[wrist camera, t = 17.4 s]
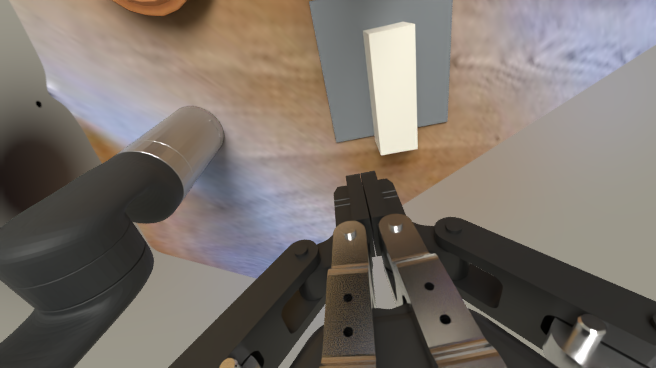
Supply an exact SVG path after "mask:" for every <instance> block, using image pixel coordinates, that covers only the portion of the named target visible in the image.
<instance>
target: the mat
mask: <svg viewBox="0 0 656 368" xmlns="http://www.w3.org/2000/svg"><path fill="white" fill-rule="evenodd" d="M452 3H453V0H314V1H310V2H309V4H310V10H311V15H312V20H313V25H314V30H315V35H316V40H317V45H318V50H319V56H320V61H321V66H322V71H323V76H324V81H325V86H326V91H327V96H328V101H329V107H330V112H331V117H332V122H333V127H334V132H335V137H336V142H342V141H347V140H353V139H358V138H363V137H368V136H374V127H373V118H372V109H371V100H370V91H369V82H368V73H367V64H366V55H365V47H364V38H363V31H364V30H368V29H373V28H377V27H382V26H386V25H390V24H395V23H399V22H408V23H413V24H415V42H416V93H417V127H421V126H426V125H432V124H437V123H442V122H447V118H448V95H449V72H450V49H451V26H452Z"/></svg>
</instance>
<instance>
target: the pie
mask: <svg viewBox="0 0 656 368" xmlns="http://www.w3.org/2000/svg"><path fill="white" fill-rule="evenodd" d="M112 1H114V2H115V3H117V4H119V5H121V6H122V7H124V8H126V9H127V10H129V11H133V12H136V13H140V14H144V15H152V16H165V15H167V14H170V13H172V12H174V11H177V10H179V9H180V7H181V6H182V5H183V4H184V3H185V2H186V1H187V0H112Z"/></svg>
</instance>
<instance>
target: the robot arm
mask: <svg viewBox="0 0 656 368" xmlns="http://www.w3.org/2000/svg"><path fill="white" fill-rule="evenodd" d="M223 139H224V133H223V129H222V126H221V125H220V123H219V121H218V120H217V119H216V118H215V117H214V116H213V115H212V114H211V113H209V112H208V111H206V110H204V109H202V108H199V107H194V106H187V107H183V108H180V109H178V110H177V111H175V112H174V113H173V114H171V115H170V116H169V117H167V118H166V119H164V120H163V121H162V122H160V123H159V124H157V125H156V126H155V127H153V128H152V129H151V130H149V131H148V132H146V133H145V134H144V135H142V136H141V137H140V138H138V139H137V140H135V141H134V142H133V143H131V144H130V145H129V146H127V147H126V148H125V149H123V150H122V151H120V152H119V153H118V154H116V155H115V156H113V157H112V158H111V159H109V160H108V161H106V162H104V163H103V164H101V165H99V166H97V167H95V168H93V169H91V170H89V171H88V172H86V173H85V174H83V175H81V176H79V177H78V178H76V179H75V180H73V181H72V182H70V183H69V184H68V185H66V186H65V187H63V188H61V189H60V190H58V191H56V192H55V193H53V194H52V195H50V196H49V197H47V198H45V199H43V200H42V201H40V202H38V203H37V204H35V205H33V206H32V207H30V208H29V209H27V210H25V211H24V212H22V213H20V214H19V215H17V216H16V217H14V218H13V219H11V220H10V221H8V222H7V223H6V224H5V225H3V226H2V227H1V228H0V280H1V281H2V282H3V283H5V284H6V285H7V286H8V287H9V288H10V289H12V290H13V291H14V292H15V293H17V294H18V295H19V296H20V297H21V298H23V299H24V300H25V301H26V302H28V303H29V304H30V305H31V306H32V307H34V308H35V309H34V311H33V312H32V314H31V315H30V316H29V317H28V318H27V319H26V320H25V321H24V322H23V323H22V324H21V325H20V326H19V327H18V328H17V329H16V330H15V331H14V332H13V333H12V334H10V335H9V336H8V337H7V338H6V339H5V340H4V341H3V342H1V343H0V368H74V367H75V365H76V364H77V363H78V362H79V361H80V360H81V359H82V358H83V356H84V355H85V354H86V353H87V352H88V351H89V350H90V349H91V348H92V346H93V345H94V344H95V343H96V342H97V341H98V340H99V338H100V337H101V336H102V335H103V334H104V333H105V332H106V331H107V330H108V328H109V327H110V326H111V325H112V324H113V323H114V322H115V321H116V319H117V318H118V317H119V316H120V315H121V314H122V313H123V311H124V310H125V309H126V308H127V307H128V305H129V304H130V303H131V302H132V301H133V299H134V298H135V297H136V296H137V294H138V293H139V292H140V291H141V289H142V288H143V286H144V285H145V283H146V282H147V279H148V278H149V276H150V274H151V272H152V269H153V264H154V258H153V254H152V252H151V250H150V248H149V246H148V245H147V243H146V241H145V240H144V238H143V237H142V235H141V234H140V233H139V231H138V230H137V228H136V227H135V225H134V224H133V222H136V223H156V222H160V221H163V220H165V219H166V218H168V217H169V216H170V215H172V214H173V213H174V211H175V210H176V209H177V207H178V206H179V205H180V203H181V202H182V200H183V199H184V198H185V196H186V195H187V193H188V192H189V191H190V189H191V188H192V186H193V185H194V183H195V182H196V181H197V179H198V178H199V176H200V175H201V174H202V172H203V171H204V169H205V168H206V167H207V165H208V164H209V162H210V161H211V160H212V158H213V157H214V155H215V154H216V153H217V151H218V150H219V148H220V147H221V145H222V143H223ZM361 180H362V182H361ZM346 181H347V186H341V187H337V189H336V191H335V192H334V204H335V219H336V228H335V230H334V232H333V235H332V236H331V237H330V238H329V239H328V240H326V241H324V242H322V243H319V244H317V245H316V243H314V242H313V241H311V240H300V241H297V242H295V243H293V244H292V245H290V246H289V247H288V248H287V249H286V250H285V251H284V252H283V253H282V254H281V255H280V256H279V257H278V258H277V259H276V260H275V261H274V262H273V263H272V264H271V265H270V266H269V267H268V268H267V269H266V270H265V271H264V272H263V273H262V274H261V275H260V276H259V277H258V278H257V279H256V280H255V281H254V282H253V283H252V284H251V285H250V286H249V287H248V288H247V289H246V290H245V291H244V292H243V293H242V294H241V296H239V297H238V298H237V299H236V300H235V301H234V302H233V303H232V304H231V305H230V306H229V307H228V309H226V310H225V311H224V312H223V313H222V314H221V315H220V316H219V317H218V319H216V320H215V321H214V322H213V323H212V324H211V325H210V326H209V327H208V328H207V329H206V330H205V331H204V332H203V334H201V336H199V337H198V338H197V339H196V340H195V341H194V342H193V343H192V344H191V345H190V346H189V347H188V349H186V350H185V351H184V352H183V353H182V354H181V355H180V357H178V358H177V359H176V360H175V361H174V362H173V363H172V364H171V365H170V366H169V367H168V368H278V366H279V365H280V364H281V362H282V361H283V360H284V359H285V357H286V356H287V355H288V353H289V352H290V350H291V349H292V347H293V346H294V345H295V344H296V342H297V341H298V340H299V338H300V337H301V336H302V334H303V333H304V331H305V330H306V329H307V328H308V326H309V325H310V323H311V322H312V321H313V319H314V318H315V317H316V315H317V314H318V313H319V311H320V310H321V309H322V307H323V306H324V304H325V318H324V325H323V326H321V327H320V328H319V329H318V330H316V331H315V332H314V333H313V335H312V336H311V337H310V338H309V339H308V341H307V342H306V344H305V345H304V347H303V348H302V350H301V351H300V353H299V354H298V356H297V357H296V359H295V360H294V361H293V363H292V365H291V366H290V367H289V368H656V301H653V300H651V299H649V298H646V297H644V296H642V295H639V294H637V293H635V292H632V291H630V290H628V289H625V288H623V287H621V286H618V285H616V284H613V283H611V282H609V281H606V280H604V279H602V278H599V277H597V276H594V275H592V274H590V273H587V272H585V271H582V270H580V269H578V268H576V267H574V266H571V265H569V264H566V263H564V262H562V261H559V260H557V259H555V258H552V257H550V256H548V255H545V254H543V253H541V252H538V251H536V250H534V249H531V248H529V247H527V246H524V245H522V244H520V243H517V242H515V241H513V240H510V239H508V238H505V237H503V236H500V235H498V234H496V233H494V232H491V231H489V230H486V229H484V228H482V227H480V226H477V225H475V224H473V223H470V222H468V221H466V220H463V219H460V218H456V217H447V218H443V219H440V220H439V221H437V222H436V224H435V226H424V225H419V224H416V223H414V222H412V221H411V219H410V218H409V217H407V216H406V214H405V212H404V210H403V207H402V204H401V202H400V199H399V197H398V195H397V192H396V190H395V187H394V185H393V183H392V182H391V181H389V180H388V179H381V180H377V177H376V173H375V171H371V172H365V173H361V178H360V174H354V175H349V176H346ZM362 186H363V187H362ZM373 241H374V244H373ZM374 245H375V250H376V255H377V256H382V258H383V264H384V271H385V274H386V277H387V279H388V283H389V286H390V288H391V292H392V295H393V297H394V301H395V304H396V308H393V309H380V308H376V300H375V290H374V281H373V271H372V269H373V262H372V257H375V251H374ZM470 263H471V264H470ZM483 270H484V271H483ZM485 271H486V272H485ZM463 299H464V300H465V301H467V302H468V303H470V304H472V305H473V306H475V307H476V308H478V309H480V310H481V311H483V312H484V313H486V314H487V315H489V316H490V317H492V318H493V319H495V320H497V321H498V322H500V323H501V324H503V325H504V326H506V327H508V328H509V329H511V330H512V331H514V332H516V333H517V334H519V335H520V336H522V337H523V338H525V339H526V340H528V341H529V342H531V343H533V344H534V345H536V346H537V347H539V348H540V349H542V350H543V352H544V355H545V357H546V358H544V357H543V356H541V355H540V354H538V353H537V352H536V351H534V350H533V349H531V348H530V347H528V346H527V345H525V344H524V343H522V342H521V341H520V340H518V339H517V338H515V337H514V336H512V335H511V334H509V333H507V332H506V331H505V330H504V329H502V328H501V327H499V326H498V325H496V324H495V323H493V322H492V321H490V320H489V319H488V318H486V317H484V316H483V315H481V314H479V313H477V312H475V311H473V310H471V309H468V308H467V307H466V304H465V303H464V301H463Z"/></svg>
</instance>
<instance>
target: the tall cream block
mask: <svg viewBox="0 0 656 368" xmlns="http://www.w3.org/2000/svg"><path fill="white" fill-rule="evenodd" d="M363 38H364V47H365V55H366V64H367V73H368V82H369V91H370V100H371V109H372V118H373V127H374V136H375V142H376V144H377V147H378V149H379V152H380V154H381V155H386V154H392V153H397V152H403V151H408V150H414V149H418V143H417V93H416V42H415V24H413V23H408V22H399V23H395V24H390V25H386V26H382V27H377V28H373V29H368V30H364V31H363Z"/></svg>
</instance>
